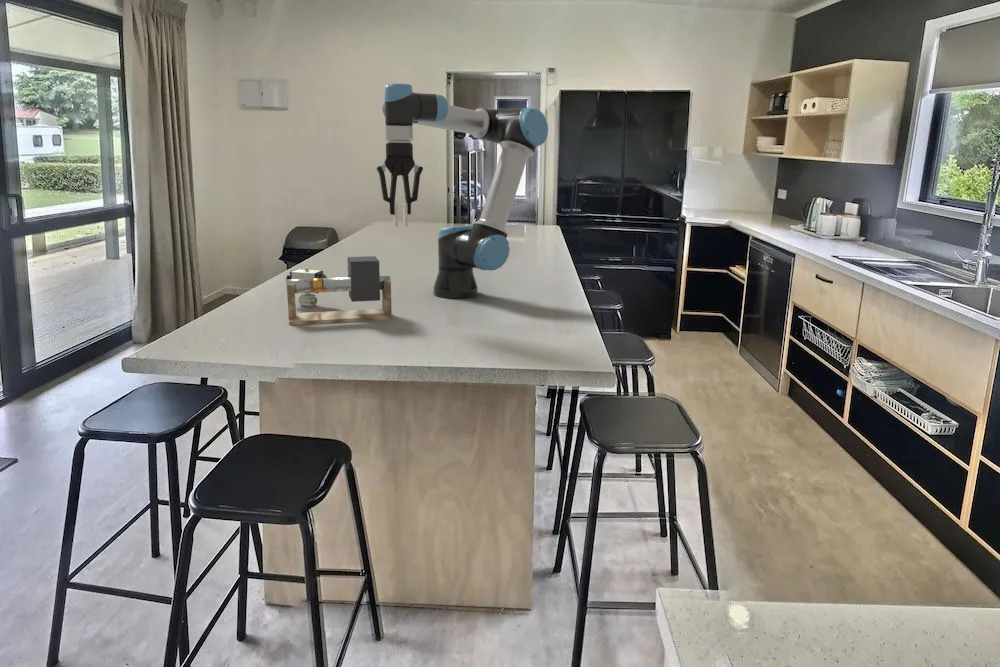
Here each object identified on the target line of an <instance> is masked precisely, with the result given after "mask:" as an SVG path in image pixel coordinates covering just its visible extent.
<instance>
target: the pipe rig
mask: <svg viewBox="0 0 1000 667" xmlns="http://www.w3.org/2000/svg"><path fill="white" fill-rule="evenodd" d="M286 282H287V281H286ZM286 293H287V294H286V295H287V298H286V299H287V312H288V313H287V316H288V325H289V326H296V325H297V326H299V325H300V326H301V325H315V324H318V325H319V324H333V323H334V324H337V323H353V322H371V321H373V322H374V321H388V320H390V321H392V320H394V316H393V314H392V312H393V310H392V280H391V279H390V280H384V289H383V290H381V307H382V308H370V309H353V310H334V311H333V310H331V311H312V312H311V311H309V312H297V309H296V307H297V306H296V293H295V287H294V284H287V283H286Z"/></svg>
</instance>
